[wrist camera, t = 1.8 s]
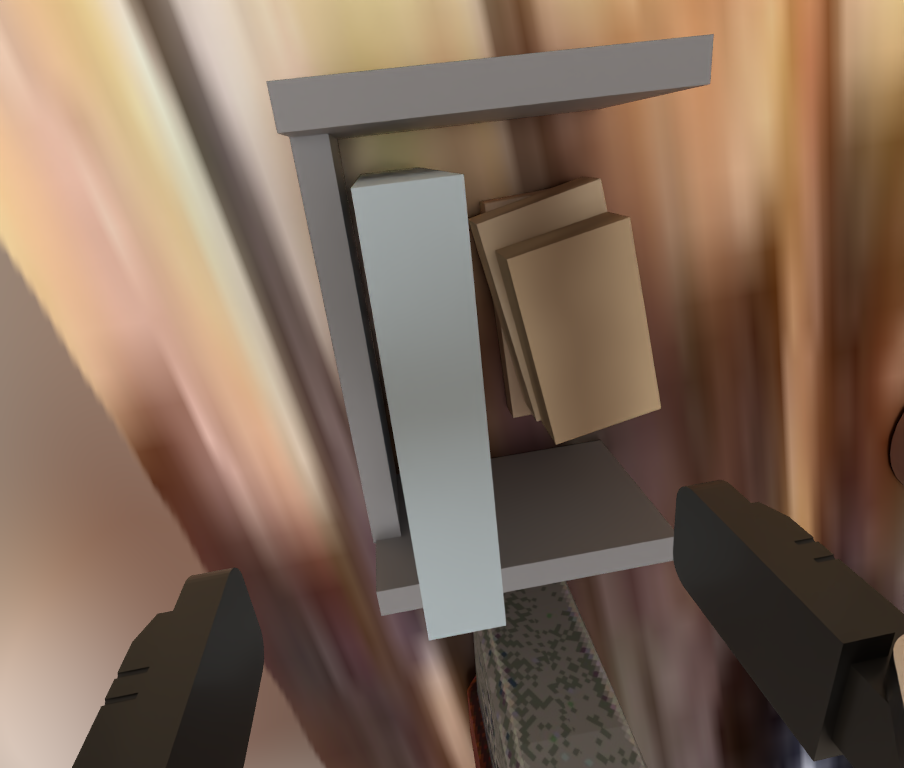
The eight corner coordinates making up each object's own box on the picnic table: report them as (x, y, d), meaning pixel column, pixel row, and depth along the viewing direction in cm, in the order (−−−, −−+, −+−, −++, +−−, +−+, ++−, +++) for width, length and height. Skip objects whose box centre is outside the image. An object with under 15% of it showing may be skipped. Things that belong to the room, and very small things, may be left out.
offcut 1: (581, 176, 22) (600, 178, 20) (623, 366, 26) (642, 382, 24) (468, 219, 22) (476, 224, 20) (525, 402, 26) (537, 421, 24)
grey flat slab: (418, 167, 22) (463, 173, 11) (452, 440, 28) (506, 625, 17) (360, 174, 22) (350, 188, 11) (405, 448, 27) (428, 640, 16)
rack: (599, 76, 22) (713, 34, 15) (600, 459, 29) (676, 559, 22) (300, 109, 21) (262, 81, 14) (376, 497, 28) (379, 616, 21)
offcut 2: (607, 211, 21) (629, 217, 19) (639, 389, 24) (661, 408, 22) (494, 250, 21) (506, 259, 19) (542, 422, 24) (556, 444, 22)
